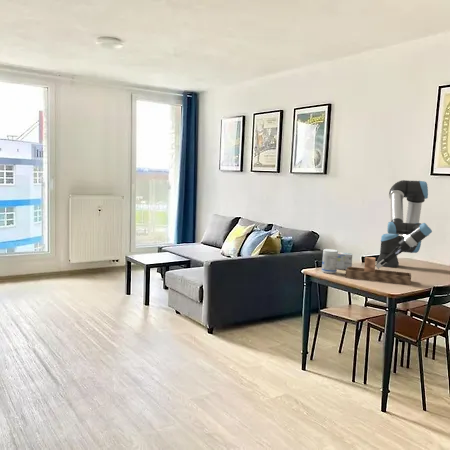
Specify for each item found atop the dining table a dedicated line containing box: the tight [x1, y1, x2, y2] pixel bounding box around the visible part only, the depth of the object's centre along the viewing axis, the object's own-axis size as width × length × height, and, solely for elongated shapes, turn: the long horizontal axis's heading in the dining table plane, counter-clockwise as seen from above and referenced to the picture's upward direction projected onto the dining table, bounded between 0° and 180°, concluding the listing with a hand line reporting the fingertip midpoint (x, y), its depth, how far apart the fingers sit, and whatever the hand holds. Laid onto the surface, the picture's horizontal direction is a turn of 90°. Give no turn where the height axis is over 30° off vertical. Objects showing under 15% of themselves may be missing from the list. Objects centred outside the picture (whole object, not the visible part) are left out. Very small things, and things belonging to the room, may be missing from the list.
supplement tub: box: [321, 248, 339, 275], centre depth 312 cm, size 10×10×15 cm
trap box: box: [345, 266, 412, 286], centre depth 297 cm, size 38×12×5 cm, turn 70°
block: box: [363, 256, 377, 273], centre depth 298 cm, size 6×6×10 cm
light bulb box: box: [337, 252, 353, 271], centre depth 327 cm, size 11×7×11 cm, turn 84°
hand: (376, 267), depth 297 cm, fingers closed
